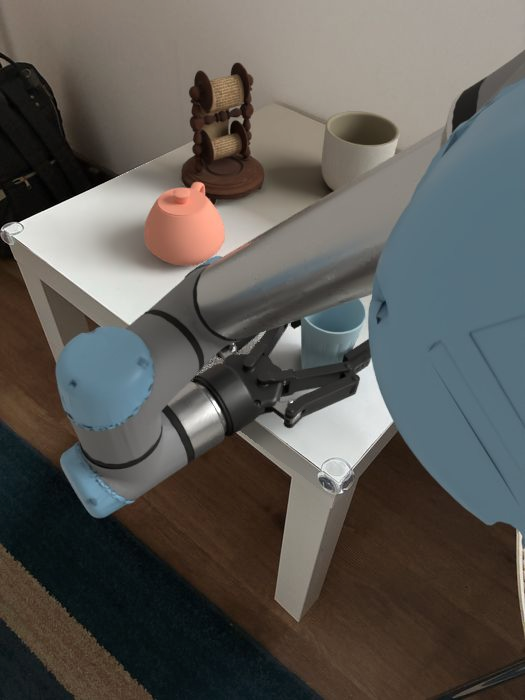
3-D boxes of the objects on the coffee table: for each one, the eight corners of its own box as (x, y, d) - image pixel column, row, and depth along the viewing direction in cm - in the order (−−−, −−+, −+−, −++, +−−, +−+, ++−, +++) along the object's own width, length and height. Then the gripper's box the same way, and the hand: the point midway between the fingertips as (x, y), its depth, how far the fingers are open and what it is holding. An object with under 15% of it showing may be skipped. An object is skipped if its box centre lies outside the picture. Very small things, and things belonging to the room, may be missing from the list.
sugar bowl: (132, 263, 82) (122, 205, 74) (171, 212, 91) (165, 156, 83) (207, 282, 80) (205, 225, 72) (239, 229, 89) (240, 173, 81)
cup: (313, 334, 74) (323, 277, 66) (362, 361, 71) (378, 305, 63) (281, 369, 70) (288, 312, 62) (332, 399, 67) (345, 343, 59)
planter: (398, 197, 97) (414, 139, 89) (337, 210, 93) (347, 151, 85) (364, 162, 104) (375, 106, 96) (306, 173, 101) (313, 116, 93)
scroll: (236, 155, 104) (237, 43, 89) (279, 192, 96) (288, 76, 81) (167, 175, 98) (156, 59, 83) (207, 216, 91) (203, 96, 75)
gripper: (158, 370, 66) (297, 294, 76) (269, 496, 56) (412, 389, 65) (152, 327, 60) (302, 251, 70) (273, 460, 50) (429, 349, 60)
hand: (355, 318), depth 68 cm, fingers open, 8 cm apart
